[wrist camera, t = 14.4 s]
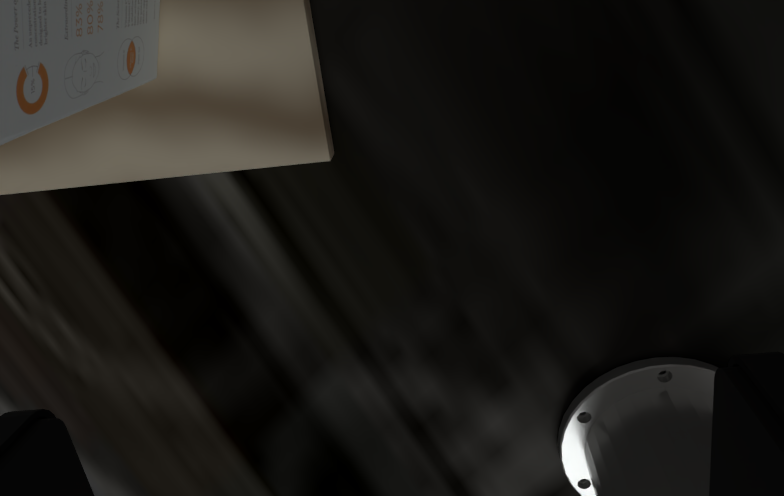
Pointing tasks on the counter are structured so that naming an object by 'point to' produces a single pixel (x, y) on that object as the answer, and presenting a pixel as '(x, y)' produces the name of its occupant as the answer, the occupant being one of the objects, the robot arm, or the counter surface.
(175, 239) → the counter surface
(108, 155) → the birch board
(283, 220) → the counter surface
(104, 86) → the small box
